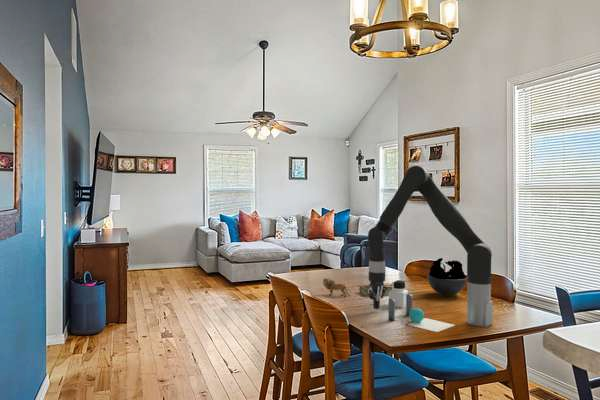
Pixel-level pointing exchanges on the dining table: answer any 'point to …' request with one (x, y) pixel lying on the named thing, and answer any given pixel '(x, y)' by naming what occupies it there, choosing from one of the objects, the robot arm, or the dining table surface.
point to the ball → (416, 315)
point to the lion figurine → (334, 286)
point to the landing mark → (431, 325)
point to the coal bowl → (447, 278)
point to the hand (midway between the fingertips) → (376, 308)
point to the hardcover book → (364, 288)
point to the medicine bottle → (398, 293)
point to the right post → (408, 303)
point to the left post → (391, 310)
